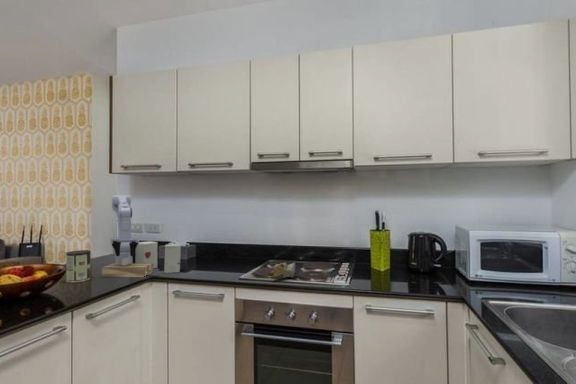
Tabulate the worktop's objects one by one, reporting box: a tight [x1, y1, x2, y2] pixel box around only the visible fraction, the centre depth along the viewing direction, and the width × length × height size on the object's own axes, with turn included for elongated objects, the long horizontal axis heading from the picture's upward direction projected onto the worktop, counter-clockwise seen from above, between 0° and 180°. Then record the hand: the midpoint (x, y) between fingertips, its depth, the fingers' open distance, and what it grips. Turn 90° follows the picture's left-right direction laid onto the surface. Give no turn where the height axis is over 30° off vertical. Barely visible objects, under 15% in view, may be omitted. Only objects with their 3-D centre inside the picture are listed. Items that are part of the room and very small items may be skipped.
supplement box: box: [134, 241, 159, 269], centre depth 190 cm, size 9×9×15 cm
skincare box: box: [163, 243, 182, 274], centre depth 180 cm, size 8×6×15 cm
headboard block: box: [101, 262, 154, 278], centre depth 173 cm, size 10×22×5 cm, turn 88°
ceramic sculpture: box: [264, 261, 296, 280], centre depth 163 cm, size 11×9×15 cm
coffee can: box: [65, 249, 92, 284], centre depth 162 cm, size 10×10×14 cm
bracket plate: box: [122, 257, 130, 267], centre depth 173 cm, size 4×2×8 cm, turn 178°
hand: (125, 255), depth 173 cm, fingers open, 7 cm apart
